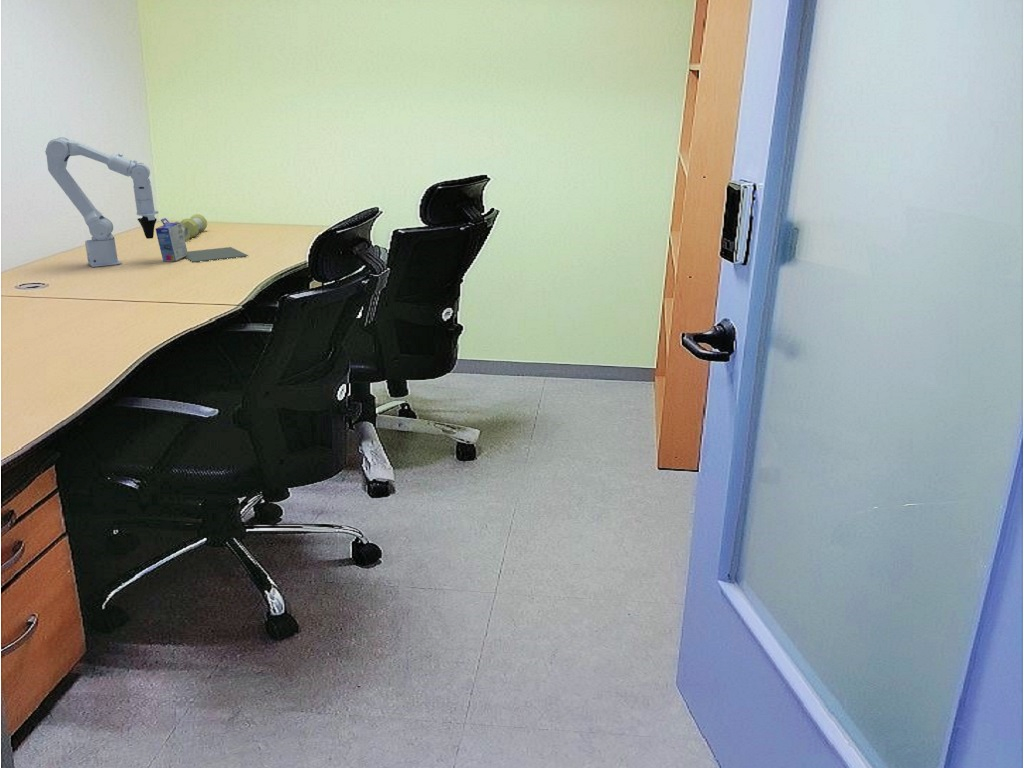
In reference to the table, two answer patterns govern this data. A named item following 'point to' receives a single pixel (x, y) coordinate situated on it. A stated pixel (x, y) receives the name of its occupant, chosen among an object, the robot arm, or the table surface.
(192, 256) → the desk mat
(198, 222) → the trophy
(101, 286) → the table surface
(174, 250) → the ink cartridge box
